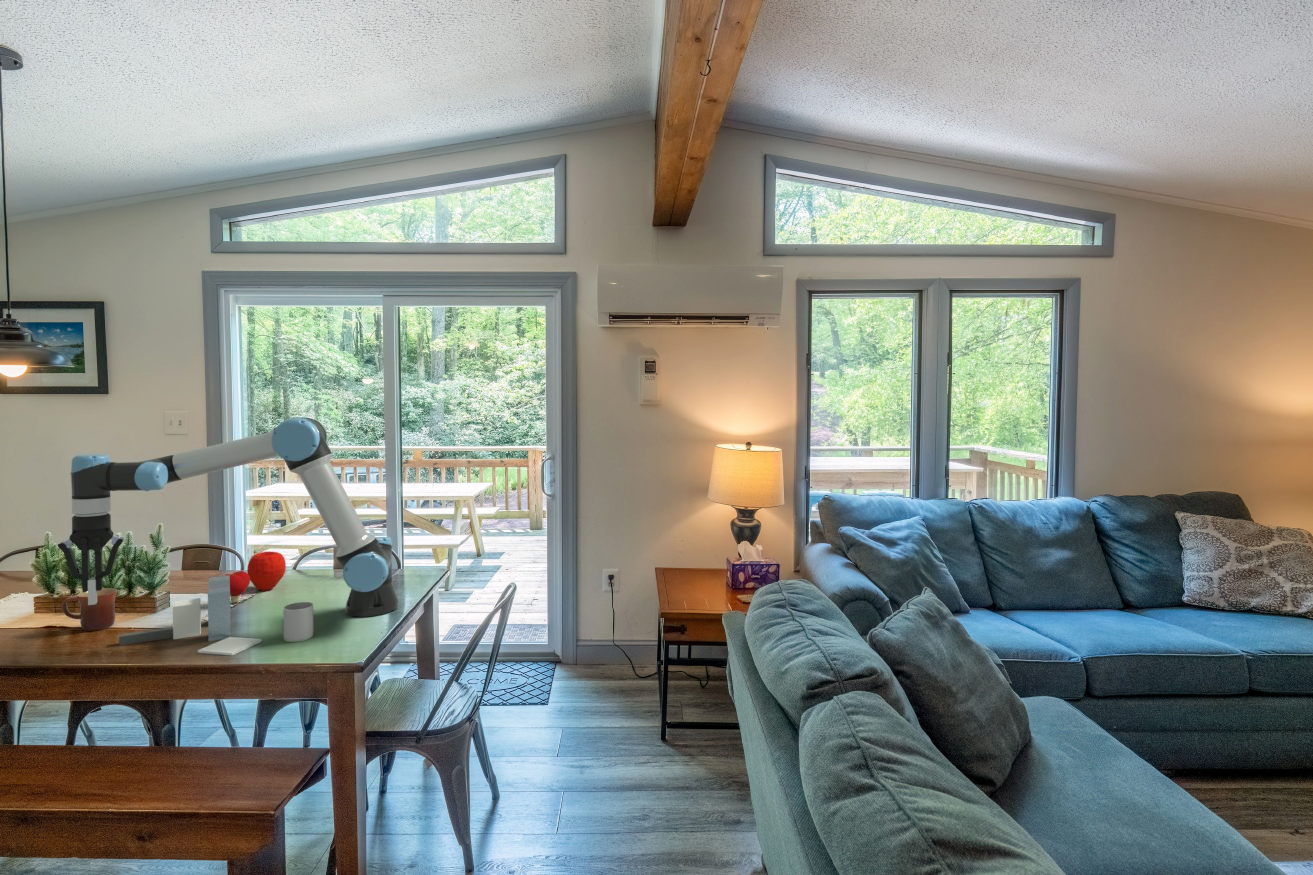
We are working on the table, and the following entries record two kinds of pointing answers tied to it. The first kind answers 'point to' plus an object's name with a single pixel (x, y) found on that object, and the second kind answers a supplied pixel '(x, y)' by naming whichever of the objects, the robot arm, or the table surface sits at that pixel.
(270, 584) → the apple
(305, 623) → the cup
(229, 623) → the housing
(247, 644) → the pad
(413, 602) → the table surface
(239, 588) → the light bulb
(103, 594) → the mug
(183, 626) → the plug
